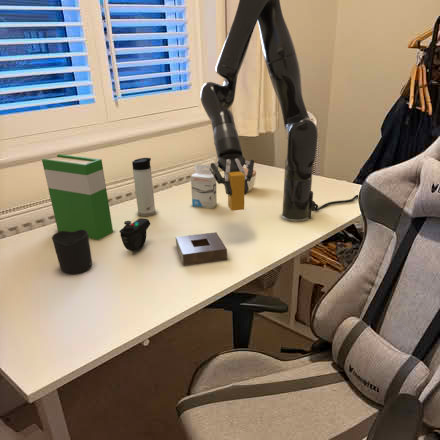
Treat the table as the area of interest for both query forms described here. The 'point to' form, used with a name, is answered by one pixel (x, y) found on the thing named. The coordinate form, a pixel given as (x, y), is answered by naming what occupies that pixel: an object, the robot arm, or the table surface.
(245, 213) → the table surface
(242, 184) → the ochre peg
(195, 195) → the ink box
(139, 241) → the controller
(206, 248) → the walnut stand
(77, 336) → the table surface
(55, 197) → the hardback book
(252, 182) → the trinket box
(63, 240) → the pen holder
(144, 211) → the travel mug
